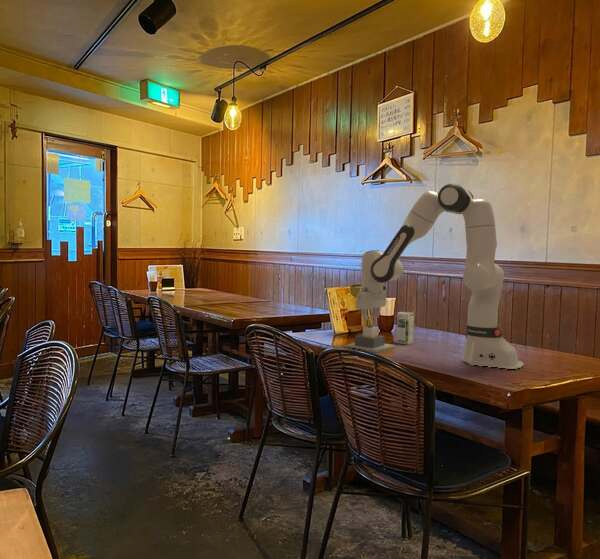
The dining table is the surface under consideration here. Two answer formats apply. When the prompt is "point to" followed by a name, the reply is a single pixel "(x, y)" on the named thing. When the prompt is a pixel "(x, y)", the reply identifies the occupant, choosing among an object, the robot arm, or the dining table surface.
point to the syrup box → (405, 327)
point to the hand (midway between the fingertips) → (371, 318)
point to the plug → (370, 331)
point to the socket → (370, 343)
